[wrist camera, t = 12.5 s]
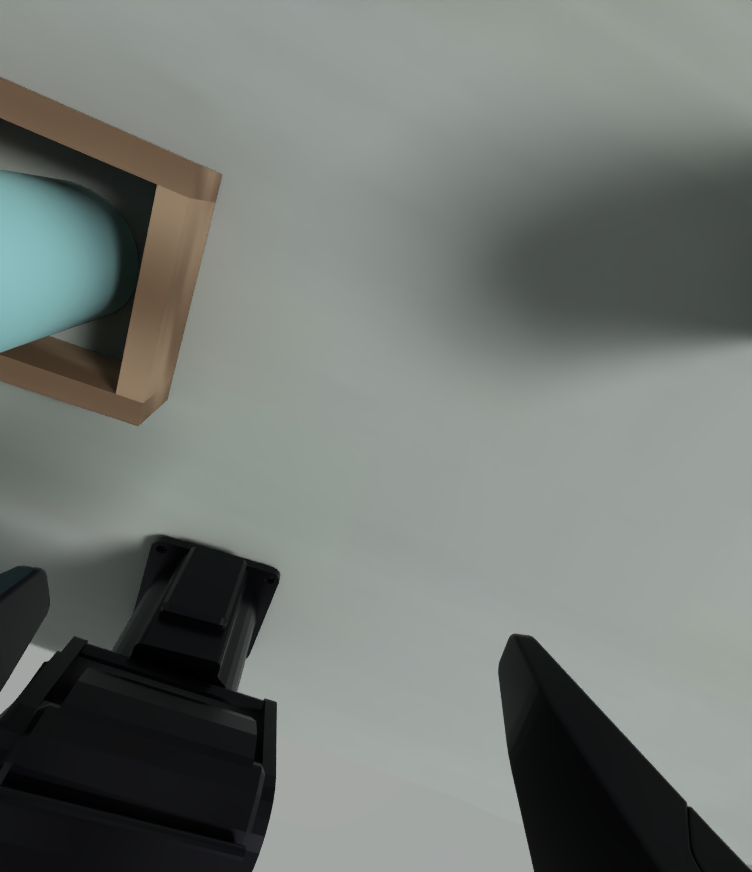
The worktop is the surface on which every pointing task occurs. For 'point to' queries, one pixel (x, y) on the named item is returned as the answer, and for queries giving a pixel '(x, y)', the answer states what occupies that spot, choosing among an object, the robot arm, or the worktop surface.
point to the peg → (59, 257)
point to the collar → (158, 280)
